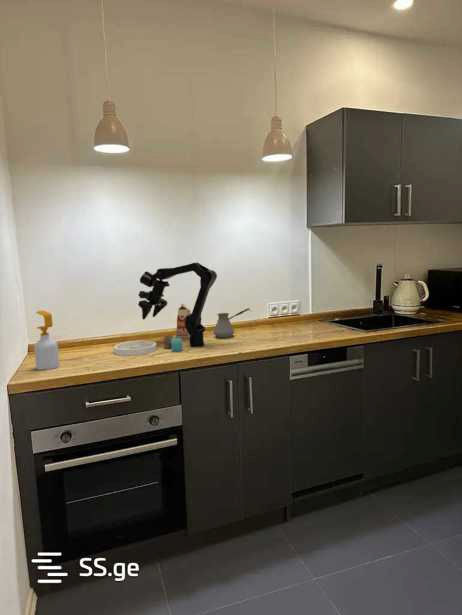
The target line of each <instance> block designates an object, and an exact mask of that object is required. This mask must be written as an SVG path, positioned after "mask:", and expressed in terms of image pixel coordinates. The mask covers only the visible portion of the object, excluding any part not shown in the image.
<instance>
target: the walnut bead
mask: <svg viewBox="0 0 462 615" xmlns="http://www.w3.org/2000/svg"><path fill="white" fill-rule="evenodd" d="M162 338H163V349H164V350H172V345H171V339H172V338H174V335H171V334H168V335H167V334H166V335H163V336H162Z"/></svg>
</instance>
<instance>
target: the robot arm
mask: <svg viewBox="0 0 462 615" xmlns="http://www.w3.org/2000/svg"><path fill="white" fill-rule="evenodd" d="M190 272H194V273H195V274H196V275H197V276H198V277H199V279H200V280H199V281H200V287H199V291H198V293H197V294H198V295H197V297H196V299H195V302H194V306H193V308H192V309H193V310H192V312H191V314H190V315H187V317H186V321H185V322H184V323H185V327H186V329H187V331H188V333H189V335H190V337H189V339H190V341H189V346H190V347H192V348H196V347H204V345H205V342H204V339H205V338H204V332H206V327H205V326H204V325H203V324H202V312H203V309H204V306H205V304H206V301H207V298H208V294H209V292H210V289H211V288H212V287H213V285H214V284H215V282H216V280H217V277H218V274H217V272H216V271H215V270H212V269H210V268H208V267H207V266H204V265H203V264H200V263H199V262H198V261H197V262H192V263H189V264H185V265H181V266H175V267H163V268H158V269H157V270H156V272H155V273H150V272H149V271H144V272H143V274H142V275H141V277H140V278H139V282H140V284H142V285H144V286H146V287H147V288H152V289H151V290H150V291H144V290H140V291H139V292H138V297H139V298H140V299H143V300H140V301H138V304H137V305H138V306H139V308H141V312H142V314H141V317H142V320H146V318H147V317H148V315H149V314H150V313H151V311H152V308H153V306H154V308H153V312H152V318H155V317H156V316H157V315H158V314H159V313H160V312H161V311H162V310H163V309H164V308H165V307H167V306H168V301H167V300H166V299H164V298H163V297H165V295H164V292H165V288H166V287H170V283H169V281H168V279H171V278H173V277H175V276H177V275H180V274H186V273H190Z"/></svg>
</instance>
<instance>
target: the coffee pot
mask: <svg viewBox="0 0 462 615" xmlns="http://www.w3.org/2000/svg"><path fill="white" fill-rule="evenodd" d="M247 311H249V312H251V309H250V308H249V307H248V308H245V309H244V310H242V311H240V312H237V313H236V314H233V315H232V316H230V317H229V315H230V313H228V312H221V313H217V316H218V319H217V321H216V323H215V324H216V325H215V327H214V330H213V334H214V336H216V337H217V338H219V339H229V338H231V337H232V336H233V335H234V334H235V330H234V327H233V325H232V324H231V321H230V320H231V319H233V318H235V317H237V316H239V315H242V314H244V313H245V312H247Z"/></svg>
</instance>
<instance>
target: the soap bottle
mask: <svg viewBox="0 0 462 615" xmlns="http://www.w3.org/2000/svg"><path fill="white" fill-rule="evenodd" d="M36 314H38V315H41V316H43V319H44V325H42V326H41V325H40V326H37V327H36V329H37V330H38V329H40V331H41V333H39V334H40V339H39V340H38V341H36V343H35V344H34V345H33V346H34V347H33V348H34V349H33V350H34V357H35V358H34V359H35V367H36V370H39V371H49V370H53V369H56V368H58V367H59V366H60V358H59V357H60V356H59V349H58V348H59V347H58V346H59V344H58V342H57V341H56V340H54V339H52V338H50V333H49V332H47V331H48V329H49V328H52V327H53V316H52V313H51V312H48V311H46V310H38V311H36Z"/></svg>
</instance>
